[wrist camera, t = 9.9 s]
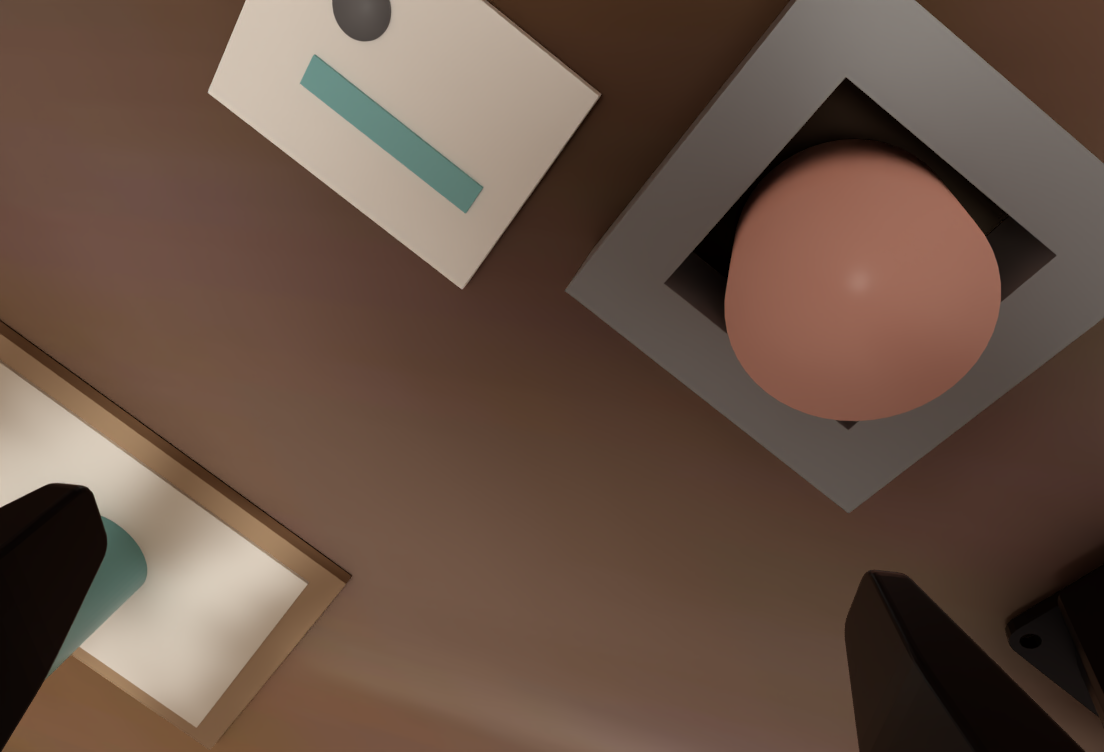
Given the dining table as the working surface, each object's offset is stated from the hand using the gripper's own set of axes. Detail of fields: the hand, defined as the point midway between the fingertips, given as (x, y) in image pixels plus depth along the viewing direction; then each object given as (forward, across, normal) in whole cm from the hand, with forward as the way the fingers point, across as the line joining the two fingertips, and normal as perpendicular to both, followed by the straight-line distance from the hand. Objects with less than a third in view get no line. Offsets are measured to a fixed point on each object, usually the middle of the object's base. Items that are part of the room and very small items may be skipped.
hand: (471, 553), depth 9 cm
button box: (+11, -6, 0) cm, 13 cm away
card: (+13, +4, -2) cm, 13 cm away
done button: (+9, -6, -1) cm, 11 cm away
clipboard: (+13, +16, +16) cm, 26 cm away
